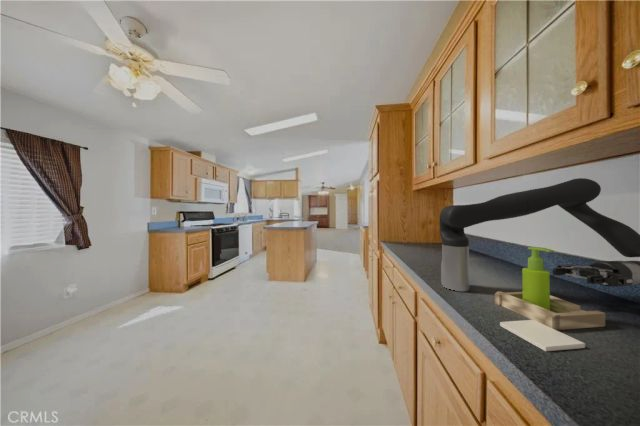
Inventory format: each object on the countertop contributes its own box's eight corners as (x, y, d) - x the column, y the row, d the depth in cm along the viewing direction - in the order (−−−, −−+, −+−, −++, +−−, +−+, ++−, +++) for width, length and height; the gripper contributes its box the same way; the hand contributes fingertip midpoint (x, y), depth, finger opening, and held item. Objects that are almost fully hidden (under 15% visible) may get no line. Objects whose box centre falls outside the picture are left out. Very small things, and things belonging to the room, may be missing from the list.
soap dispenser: (545, 321, 62) (545, 249, 62) (517, 310, 68) (517, 246, 68) (559, 318, 63) (559, 248, 63) (531, 308, 70) (530, 245, 70)
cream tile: (500, 325, 60) (500, 322, 60) (533, 323, 61) (533, 319, 61) (545, 351, 49) (545, 346, 49) (585, 347, 50) (585, 343, 50)
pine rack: (494, 303, 74) (494, 291, 73) (537, 301, 75) (537, 289, 75) (552, 330, 57) (552, 315, 57) (605, 326, 59) (605, 311, 59)
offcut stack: (530, 305, 72) (530, 293, 72) (544, 304, 72) (544, 292, 72) (572, 322, 61) (572, 308, 61) (588, 321, 61) (588, 307, 61)
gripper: (585, 256, 76) (544, 258, 74) (652, 266, 62) (602, 269, 60) (586, 278, 76) (544, 280, 74) (652, 293, 62) (602, 296, 60)
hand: (570, 275), depth 67 cm, fingers open, 8 cm apart
